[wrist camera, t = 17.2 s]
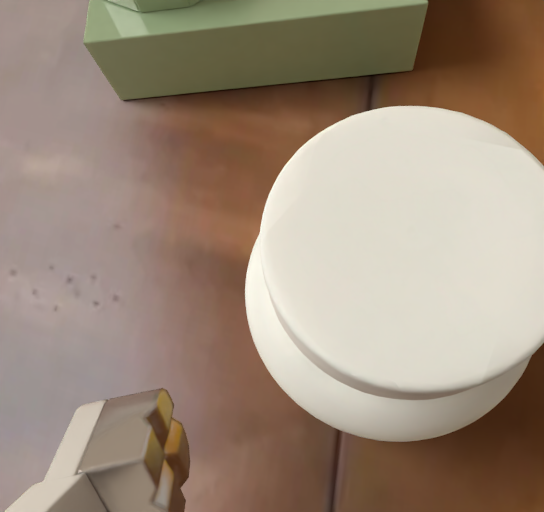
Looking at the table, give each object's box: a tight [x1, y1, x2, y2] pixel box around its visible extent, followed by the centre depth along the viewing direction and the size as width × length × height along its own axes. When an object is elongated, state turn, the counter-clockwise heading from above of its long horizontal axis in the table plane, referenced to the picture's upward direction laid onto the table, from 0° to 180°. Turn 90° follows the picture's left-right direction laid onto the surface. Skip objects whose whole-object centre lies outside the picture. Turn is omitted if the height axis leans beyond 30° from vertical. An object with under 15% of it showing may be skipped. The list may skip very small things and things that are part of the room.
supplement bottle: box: [245, 106, 544, 442], centre depth 10 cm, size 5×5×10 cm
